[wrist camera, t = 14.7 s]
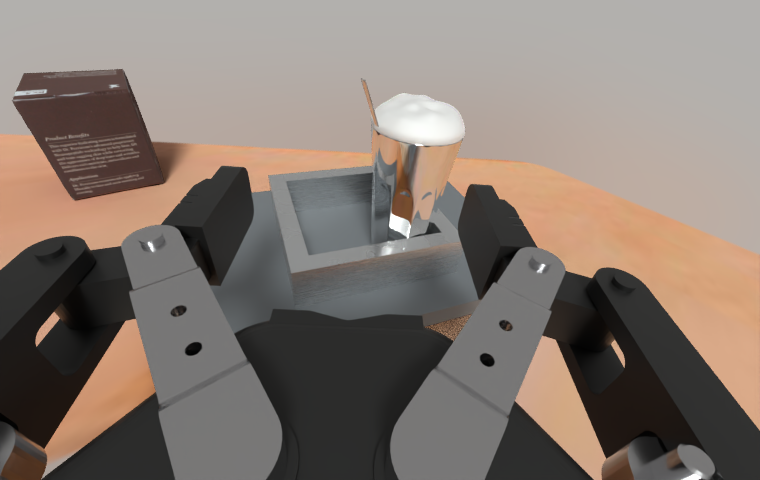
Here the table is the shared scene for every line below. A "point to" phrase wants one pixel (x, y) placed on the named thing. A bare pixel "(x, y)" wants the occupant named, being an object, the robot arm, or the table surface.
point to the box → (89, 130)
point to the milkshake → (410, 163)
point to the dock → (343, 256)
